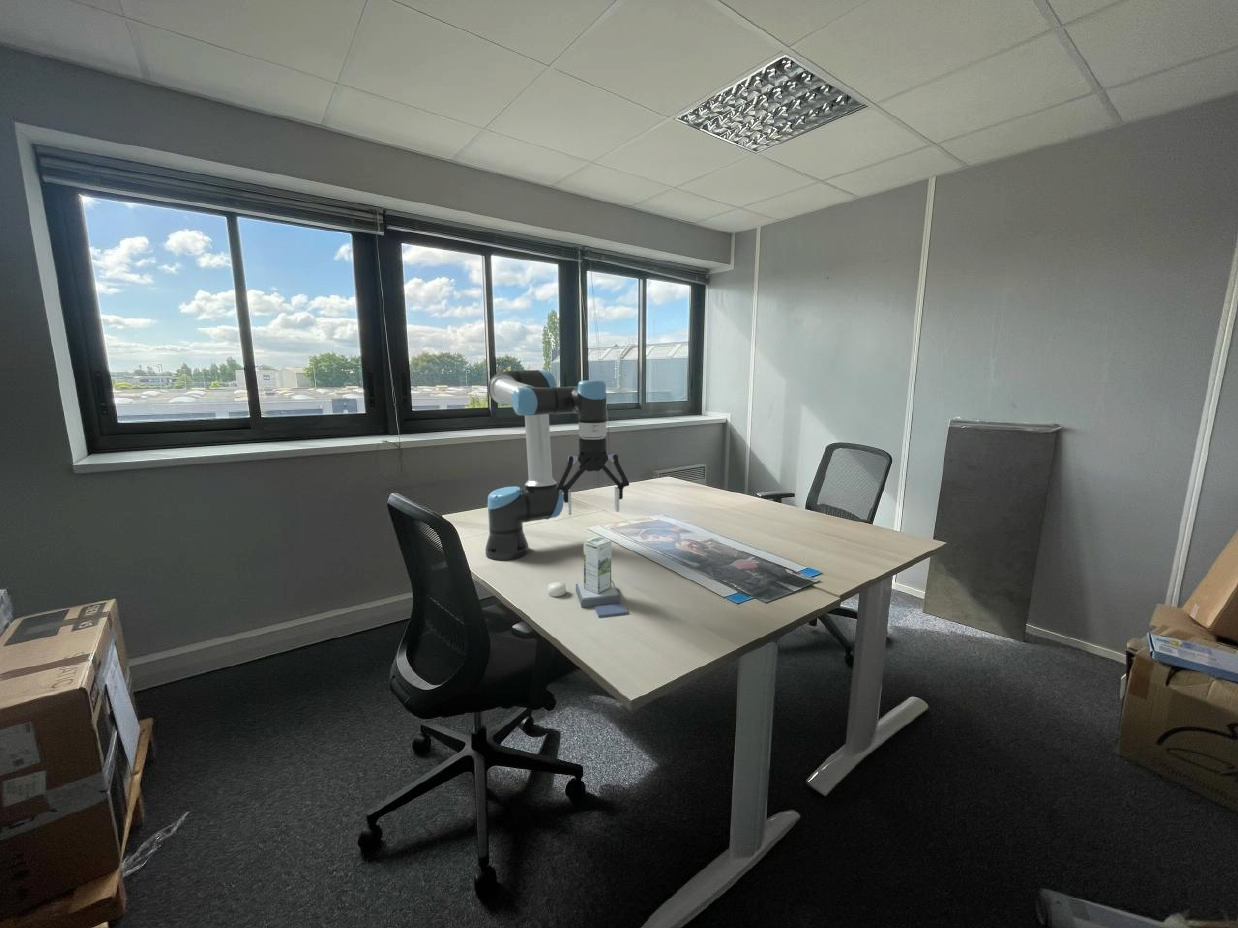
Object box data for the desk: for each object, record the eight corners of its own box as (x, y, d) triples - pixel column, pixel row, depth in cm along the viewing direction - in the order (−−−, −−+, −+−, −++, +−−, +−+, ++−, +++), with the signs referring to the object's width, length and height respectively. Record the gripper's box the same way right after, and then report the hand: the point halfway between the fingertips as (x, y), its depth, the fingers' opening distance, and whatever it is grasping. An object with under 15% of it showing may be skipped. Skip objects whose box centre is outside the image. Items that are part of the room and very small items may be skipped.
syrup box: (597, 582, 143) (596, 535, 140) (612, 588, 139) (611, 539, 136) (583, 588, 138) (582, 540, 136) (598, 594, 135) (597, 545, 132)
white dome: (548, 597, 139) (547, 588, 138) (549, 590, 144) (548, 582, 143) (565, 595, 139) (565, 587, 139) (565, 589, 144) (565, 581, 144)
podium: (575, 590, 143) (575, 582, 143) (612, 586, 146) (612, 578, 145) (581, 607, 133) (581, 599, 132) (620, 603, 135) (620, 594, 135)
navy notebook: (595, 610, 132) (595, 606, 132) (623, 607, 134) (623, 603, 134) (598, 619, 127) (598, 615, 127) (628, 615, 129) (628, 611, 129)
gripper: (548, 440, 126) (550, 518, 131) (640, 437, 132) (639, 512, 136) (545, 437, 134) (548, 510, 138) (633, 434, 139) (632, 505, 143)
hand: (593, 512), depth 137 cm, fingers open, 13 cm apart
